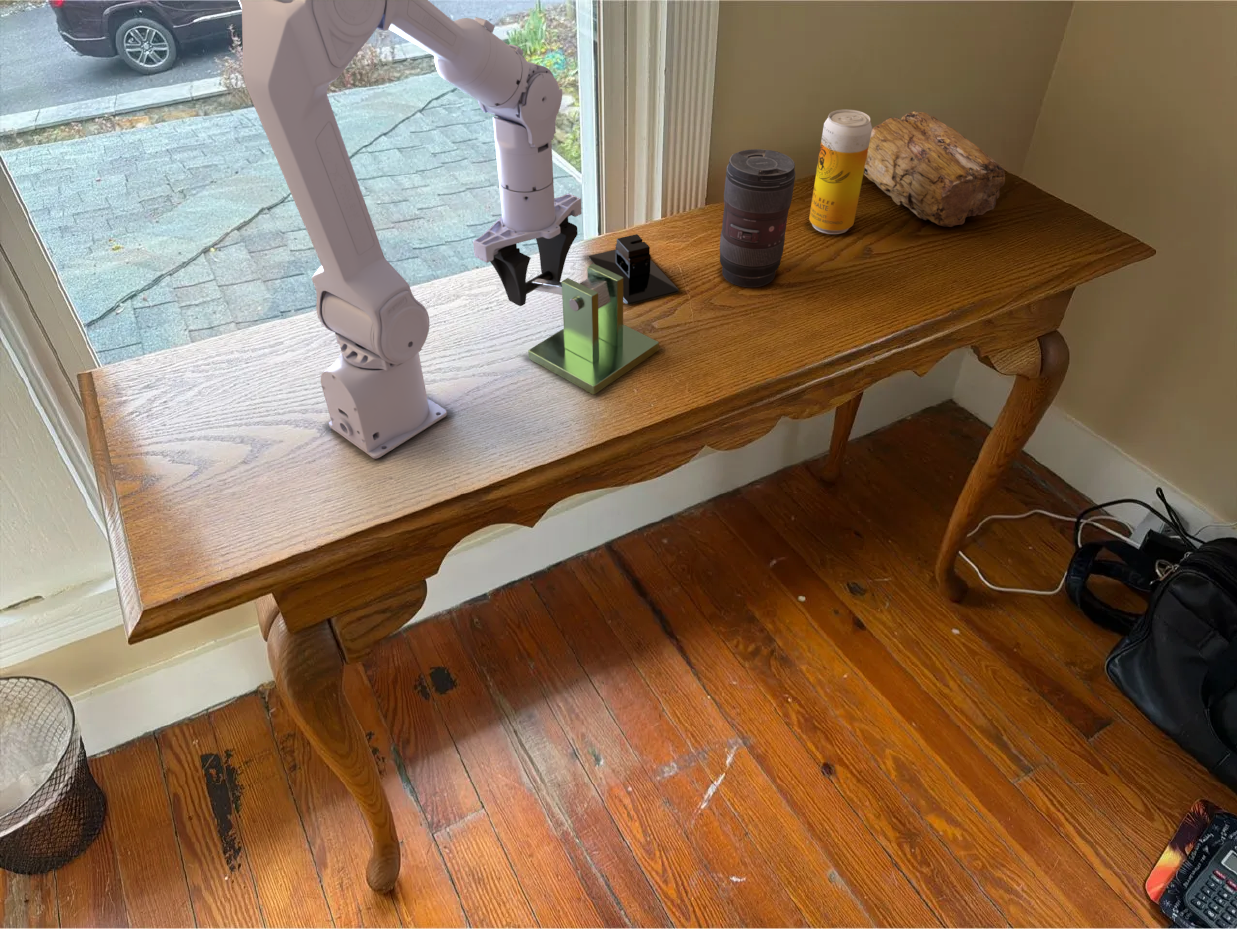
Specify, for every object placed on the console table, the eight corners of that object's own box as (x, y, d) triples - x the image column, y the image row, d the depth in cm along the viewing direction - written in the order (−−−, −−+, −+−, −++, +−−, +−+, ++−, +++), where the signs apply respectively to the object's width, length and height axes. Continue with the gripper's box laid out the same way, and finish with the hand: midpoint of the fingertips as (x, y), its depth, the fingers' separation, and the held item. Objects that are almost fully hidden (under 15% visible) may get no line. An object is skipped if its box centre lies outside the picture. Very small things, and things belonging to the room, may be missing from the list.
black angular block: (679, 293, 112) (681, 260, 109) (626, 306, 110) (626, 273, 107) (636, 246, 120) (637, 214, 117) (586, 258, 118) (585, 226, 115)
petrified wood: (1006, 219, 125) (1016, 154, 118) (923, 253, 124) (927, 190, 116) (926, 158, 138) (930, 96, 130) (850, 188, 137) (850, 127, 129)
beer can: (800, 218, 126) (816, 111, 116) (839, 212, 127) (859, 105, 117) (820, 239, 122) (839, 129, 112) (860, 232, 123) (882, 123, 113)
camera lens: (792, 283, 114) (810, 169, 103) (735, 296, 111) (747, 181, 101) (761, 253, 119) (775, 142, 109) (706, 264, 117) (715, 152, 107)
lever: (517, 301, 103) (512, 282, 101) (548, 284, 105) (543, 264, 104) (588, 315, 95) (583, 294, 94) (619, 296, 98) (615, 275, 97)
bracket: (528, 358, 102) (522, 283, 95) (594, 318, 108) (592, 244, 101) (593, 395, 97) (592, 318, 90) (658, 350, 103) (661, 275, 96)
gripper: (501, 216, 89) (512, 332, 98) (600, 168, 97) (602, 279, 106) (454, 194, 92) (469, 308, 101) (553, 149, 100) (559, 258, 109)
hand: (534, 292), depth 104 cm, fingers closed on lever, 5 cm apart
